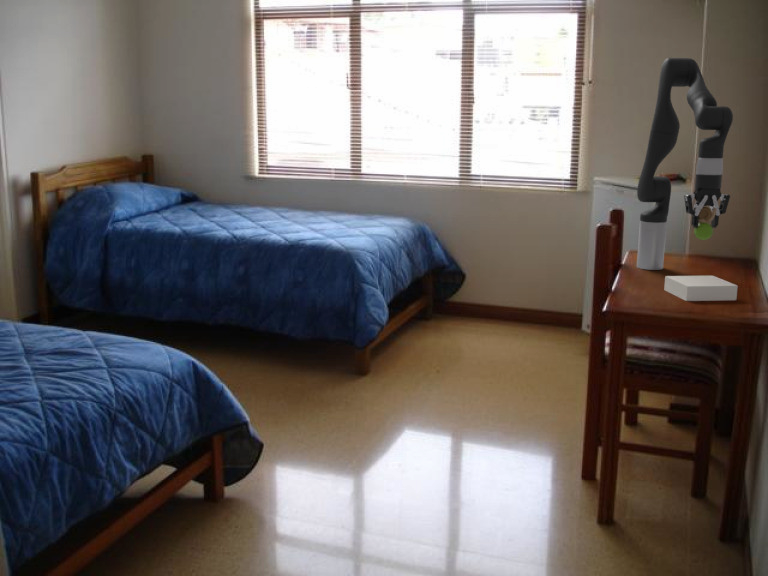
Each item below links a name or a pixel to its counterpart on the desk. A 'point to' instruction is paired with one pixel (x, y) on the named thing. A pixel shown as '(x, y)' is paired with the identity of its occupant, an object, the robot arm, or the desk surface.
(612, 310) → the desk surface
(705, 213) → the snail figurine
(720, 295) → the cream block
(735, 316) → the desk surface
